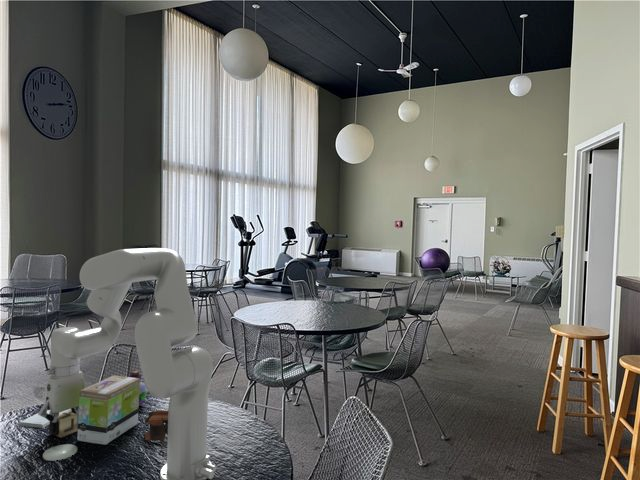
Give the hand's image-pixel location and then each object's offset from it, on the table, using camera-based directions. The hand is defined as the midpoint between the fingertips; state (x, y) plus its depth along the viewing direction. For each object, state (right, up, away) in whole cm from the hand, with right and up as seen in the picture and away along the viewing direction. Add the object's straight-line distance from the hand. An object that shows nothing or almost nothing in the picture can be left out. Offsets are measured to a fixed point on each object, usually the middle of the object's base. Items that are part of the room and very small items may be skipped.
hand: (64, 429), depth 132 cm
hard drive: (-11, -1, +9) cm, 14 cm away
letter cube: (0, -1, 0) cm, 1 cm away
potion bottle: (+12, -1, +21) cm, 24 cm away
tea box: (+13, -1, +1) cm, 13 cm away
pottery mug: (+29, -2, 0) cm, 29 cm away
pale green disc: (+6, -1, -12) cm, 14 cm away
